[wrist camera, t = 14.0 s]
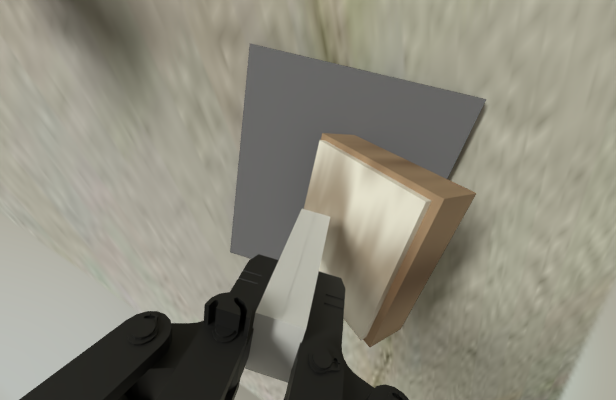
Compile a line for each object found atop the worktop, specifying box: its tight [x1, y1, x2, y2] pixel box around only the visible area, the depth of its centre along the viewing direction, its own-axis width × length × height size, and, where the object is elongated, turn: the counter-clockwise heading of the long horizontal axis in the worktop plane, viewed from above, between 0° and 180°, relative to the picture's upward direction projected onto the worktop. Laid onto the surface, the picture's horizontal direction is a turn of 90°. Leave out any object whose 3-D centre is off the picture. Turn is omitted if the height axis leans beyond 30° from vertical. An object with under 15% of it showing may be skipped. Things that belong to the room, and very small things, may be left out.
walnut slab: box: [304, 133, 476, 347], centre depth 15 cm, size 9×3×8 cm
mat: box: [230, 44, 486, 260], centre depth 19 cm, size 16×14×1 cm
